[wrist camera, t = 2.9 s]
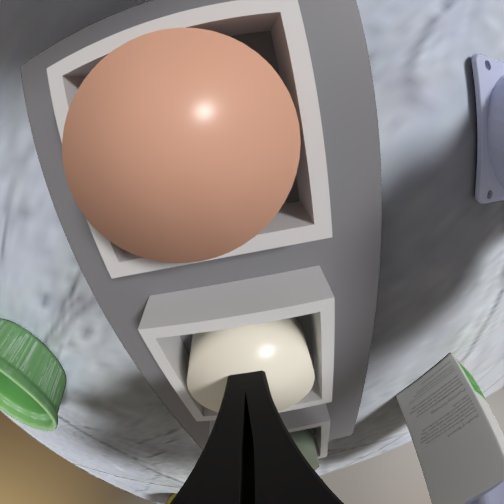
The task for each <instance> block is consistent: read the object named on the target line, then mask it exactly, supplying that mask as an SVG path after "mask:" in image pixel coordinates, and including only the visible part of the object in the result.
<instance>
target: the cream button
mask: <svg viewBox="0 0 504 504" xmlns="http://www.w3.org/2000/svg"><path fill="white" fill-rule="evenodd" d="M261 370H262V371H264V372H265V373H266V377H267V381H268V385H269V389H270V392H271V396H272V399H273V401H274V404H275V406H276V408H277V410H278V412H279V411H282V410H284V409H287V408H289V407H291V406H293V405H294V404H296V403H298V402H299V401H300V400H302V399H303V398H304V397H305V396H306V395H307V394H308V393H309V391H310V390H311V388H312V386H313V384H314V380H315V374H314V369H313V365H312V362H311V358H310V354H309V350H308V347H307V343H306V339H305V336H304V332H303V329H302V326H301V324H300V322H299V321H298V319H297V318H296V317H292V318H287V319H282V320H277V321H271V322H266V323H260V324H254V325H248V326H242V327H236V328H230V329H223V330H217V331H210V332H203V333H195V334H193V336H192V343H191V351H190V359H189V367H188V376H187V387H188V390H189V392H190V394H191V395H192V397H193V398H194V399H195V400H196V401H197V402H198V403H200V404H201V405H203V406H204V407H206V408H208V409H210V410H213V411H215V412H219V409H220V406H221V403H222V399H223V396H224V392H225V388H226V383H227V378H228V376H229V375H234V374H242V373H249V372H255V371H261Z"/></svg>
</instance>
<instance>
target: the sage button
mask: <svg viewBox="0 0 504 504" xmlns="http://www.w3.org/2000/svg"><path fill="white" fill-rule="evenodd" d="M289 434H290V435H291V437H292V439H293V440H294V442H295V444H296V445H297V447H298V448H299V450H300V451H301V453H302V454H303V456H304V457H305V459H306V460H307V461H308V463H309V464H310V465H311V467H312V468H313V469H314V471H315V470H316V469H317V468H318V467H319V463H318V458H317V453H316V448H315V443H314V438H313V433H312V431H311V430H309V429H305V430H300V431H294V432H289Z"/></svg>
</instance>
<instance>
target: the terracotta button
mask: <svg viewBox="0 0 504 504" xmlns="http://www.w3.org/2000/svg"><path fill="white" fill-rule="evenodd" d="M300 144H301V139H300V127H299V121H298V117H297V113H296V109H295V106H294V103H293V101H292V98H291V96H290V93H289V91H288V90H287V88H286V86H285V84H284V83H283V81H282V79H281V78H280V76H279V75H278V74H277V72H276V71H275V70H274V69H273V67H272V66H271V65H270V64H269V63H268V62H267V61H266V60H265V59H264V58H263V57H262V56H260V55H259V54H258V53H257V52H256V51H254V50H253V49H251V48H250V47H248V46H247V45H245V44H244V43H242V42H240V41H238V40H236V39H234V38H232V37H230V36H227V35H224V34H221V33H218V32H215V31H210V30H205V29H199V28H171V29H163V30H158V31H154V32H151V33H147V34H144V35H141V36H139V37H137V38H134V39H132V40H130V41H128V42H126V43H124V44H123V45H121V46H119V47H118V48H116V49H114V50H113V51H112V52H111V53H109V54H108V55H107V56H105V57H104V58H103V59H102V60H101V61H100V62H99V63H98V64H97V65H96V66H95V67H94V68H93V69H92V70H91V71H90V73H89V74H88V75H87V77H86V78H85V79H84V81H83V82H82V83H81V85H80V87H79V88H78V90H77V92H76V94H75V96H74V98H73V100H72V102H71V105H70V107H69V110H68V113H67V117H66V121H65V125H64V131H63V139H62V158H63V166H64V172H65V176H66V179H67V183H68V186H69V188H70V191H71V193H72V196H73V198H74V200H75V202H76V204H77V205H78V207H79V209H80V210H81V212H82V213H83V215H84V216H85V217H86V219H87V220H88V221H89V222H90V224H91V225H92V226H93V227H94V228H95V229H96V230H97V231H98V232H99V233H100V234H102V235H103V236H104V237H105V238H106V239H108V240H109V241H110V242H112V243H113V244H115V245H116V246H118V247H120V248H122V249H124V250H126V251H128V252H130V253H132V254H134V255H137V256H140V257H143V258H145V259H150V260H154V261H158V262H167V263H191V262H199V261H204V260H208V259H212V258H216V257H218V256H221V255H224V254H226V253H229V252H231V251H233V250H235V249H237V248H238V247H240V246H242V245H244V244H245V243H247V242H248V241H249V240H251V239H252V238H254V237H255V236H256V235H257V234H258V233H260V232H261V231H262V230H263V229H264V228H265V227H266V226H267V225H268V224H269V223H270V221H271V220H272V219H273V218H274V217H275V216H276V214H277V213H278V211H279V210H280V208H281V207H282V205H283V204H284V202H285V200H286V198H287V196H288V194H289V192H290V190H291V188H292V185H293V182H294V180H295V177H296V174H297V169H298V164H299V159H300Z"/></svg>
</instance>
